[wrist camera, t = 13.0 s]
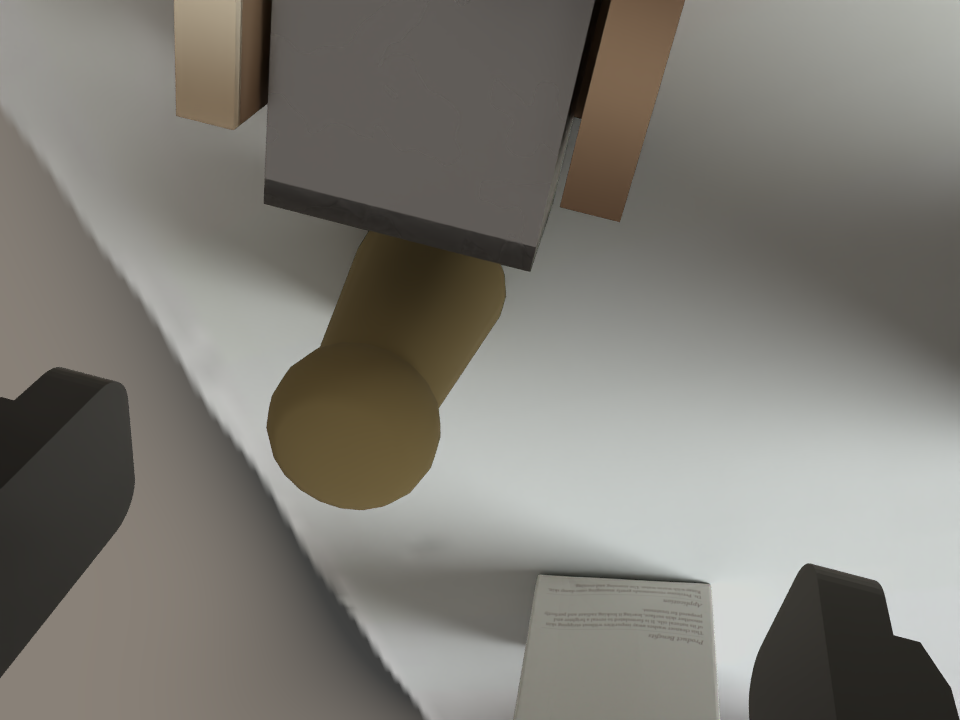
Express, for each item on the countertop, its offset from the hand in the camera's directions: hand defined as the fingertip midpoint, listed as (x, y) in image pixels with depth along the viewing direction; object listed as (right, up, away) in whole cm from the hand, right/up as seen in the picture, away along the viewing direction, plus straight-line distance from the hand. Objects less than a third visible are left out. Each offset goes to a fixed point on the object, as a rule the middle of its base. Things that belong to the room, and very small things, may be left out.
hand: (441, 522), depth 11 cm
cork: (-1, +5, +24) cm, 25 cm away
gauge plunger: (-1, +12, +17) cm, 21 cm away
